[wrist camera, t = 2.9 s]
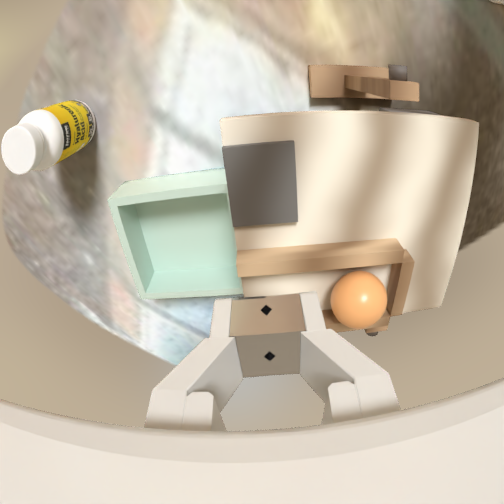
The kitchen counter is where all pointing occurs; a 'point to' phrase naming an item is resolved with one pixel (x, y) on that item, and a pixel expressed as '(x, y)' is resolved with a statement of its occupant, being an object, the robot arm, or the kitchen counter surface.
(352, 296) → the ball
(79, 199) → the kitchen counter surface
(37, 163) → the supplement bottle
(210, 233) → the green square tray
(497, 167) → the kitchen counter surface
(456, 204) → the lever
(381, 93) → the lever stand
